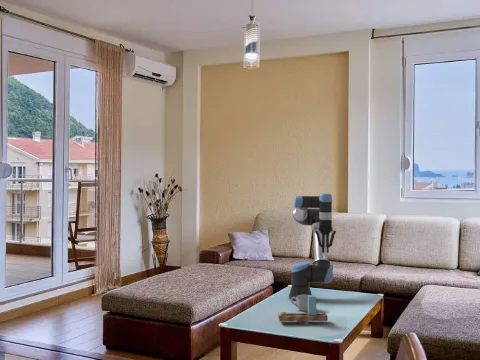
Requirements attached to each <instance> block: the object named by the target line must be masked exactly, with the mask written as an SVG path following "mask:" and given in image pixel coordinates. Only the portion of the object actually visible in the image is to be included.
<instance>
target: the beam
mask: <svg viewBox="0 0 480 360" xmlns="http://www.w3.org/2000/svg"><path fill="white" fill-rule="evenodd" d="M328 317H329V316H328V315H327V313H326V312H316V315H308V312H285V311H279V312H278V317H277V318H278V320H279V322H297V324H298V325H299V326H303V325H304V326H306V325H307V326H309V322H328Z"/></svg>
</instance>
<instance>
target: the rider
mask: <svg viewBox="0 0 480 360" xmlns="http://www.w3.org/2000/svg"><path fill="white" fill-rule="evenodd" d="M307 313H308V315H316V313H317V295H316V294H312V295H308V311H307Z"/></svg>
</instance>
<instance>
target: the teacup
mask: <svg viewBox="0 0 480 360" xmlns="http://www.w3.org/2000/svg"><path fill="white" fill-rule="evenodd" d="M293 299H295V300H296V301H294V300H293ZM290 302H291V304H292V305H294V306H295V307H296V308H297V309H299V311H301V312H308V295H298V296H297V297H292V298H291V300H290ZM295 302H296V303H295Z"/></svg>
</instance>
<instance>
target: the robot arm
mask: <svg viewBox="0 0 480 360" xmlns="http://www.w3.org/2000/svg"><path fill="white" fill-rule="evenodd" d="M293 207H294V208H295V209H294V210H293V212H292V217H293V219H294V220H295V222H296V223H298V224H299V225H302V226H310V229H311V230H312V233H313V234H312V235H313V236H312V237H313V254H314V255H313V256H314V261H312V264H310V262H309V261H299V262H296V263H293V264H292V265H291V287H290V290H289V294H288V299H289V300H290V301H291V298H292V297H297V296H298V295H313V294H312V290H311V287H310V284H330V283H332V280H333V273H334V265H333V264H331V262H330V260H329V258H328V253H330V252H329V251H330V249H329V248H330V247H332V246H333V242H334V239H335V235H336V233H337V231H336V230H335V229H333V226H332V225H333V223H332V222H333V220H332V216H333V214H332V213H333V211H332V210H333V209H332V208H333V195H332V194H331V193H320V194H319V195H310V196H309V195H296V196H294V198H293ZM330 234H331V235H330ZM292 301H293V302H296V300H295V299H293V300H292Z"/></svg>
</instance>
